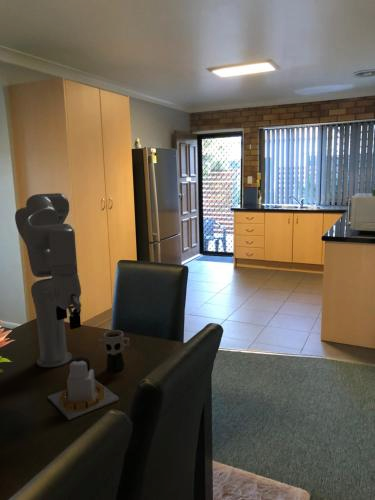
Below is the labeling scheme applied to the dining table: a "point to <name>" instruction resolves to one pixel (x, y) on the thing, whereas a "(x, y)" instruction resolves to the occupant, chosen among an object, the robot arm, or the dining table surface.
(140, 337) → the dining table surface
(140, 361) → the dining table surface
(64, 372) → the dining table surface
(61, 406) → the white square ringed board
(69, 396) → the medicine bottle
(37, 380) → the dining table surface
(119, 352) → the character mug
